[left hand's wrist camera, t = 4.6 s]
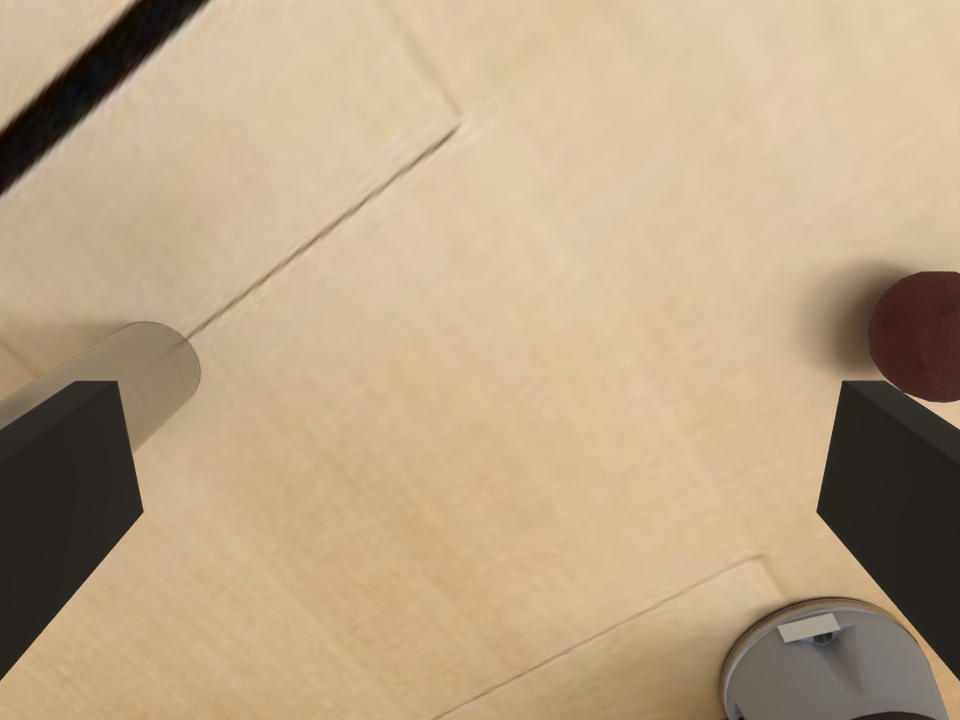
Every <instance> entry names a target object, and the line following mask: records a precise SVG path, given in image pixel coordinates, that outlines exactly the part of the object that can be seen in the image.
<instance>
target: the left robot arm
mask: <svg viewBox="0 0 960 720" xmlns="http://www.w3.org/2000/svg"><path fill="white" fill-rule="evenodd" d="M143 512H144V511H143V506H142V501H141V496H140V491H139V486H138V481H137V476H136V471H135V466H134V461H133V456H132V451H131V446H130V441H129V436H128V431H127V426H126V421H125V416H124V411H123V406H122V401H121V396H120V391H119V386H118V381H74V382H72V383H71V384H69V385H68V386H66V387H65V388H63V389H62V390H60V391H59V392H57V393H56V394H54V395H53V396H51V397H50V398H48V399H46V400H45V401H43V402H42V403H40V404H39V405H37V406H36V407H34V408H33V409H31V410H30V411H28V412H27V413H25V414H24V415H22V416H21V417H19V418H17V419H16V420H14V421H13V422H11V423H10V424H8V425H7V426H5V427H4V428H2V429H1V430H0V681H1V680H2V678H3V677H4V676H5V675H6V674H7V672H8V671H9V670H10V669H11V668H12V667H13V665H14V664H15V663H16V662H17V661H18V659H19V658H20V657H21V656H22V655H23V654H24V652H25V651H26V650H27V649H28V648H29V647H30V645H31V644H32V643H33V642H34V641H35V639H36V638H37V637H38V636H39V635H40V634H41V632H42V631H43V630H44V629H45V628H46V626H47V625H48V624H49V623H50V622H51V621H52V619H53V618H54V617H55V616H56V615H57V614H58V612H59V611H60V610H61V609H62V608H63V606H64V605H65V604H66V603H67V602H68V601H69V599H70V598H71V597H72V596H73V595H74V593H75V592H76V591H77V590H78V589H79V588H80V586H81V585H82V584H83V583H84V582H85V580H86V579H87V578H88V577H89V576H90V575H91V573H92V572H93V571H94V570H95V569H96V568H97V566H98V565H99V564H100V563H101V562H102V560H103V559H104V558H105V557H106V556H107V555H108V553H109V552H110V551H111V550H112V549H113V547H114V546H115V545H116V544H117V543H118V542H119V540H120V539H121V538H122V537H123V536H124V535H125V533H126V532H127V531H128V530H129V529H130V527H131V526H132V525H133V524H134V523H135V522H136V520H137V519H138V518H139V517H140V516H141V514H142V513H143ZM816 512H817V513H818V514H819V516H820V517H821V518H822V519H823V520H824V522H825V523H826V524H827V525H828V526H829V527H830V529H831V530H832V531H833V532H834V533H835V535H836V536H837V537H838V538H839V539H840V540H841V542H842V543H843V544H844V545H845V546H846V547H847V549H848V550H849V551H850V552H851V553H852V555H853V556H854V557H855V558H856V559H857V560H858V562H859V563H860V564H861V565H862V566H863V568H864V569H865V570H866V571H867V572H868V573H869V575H870V576H871V577H872V578H873V579H874V580H875V582H876V583H877V584H878V585H879V586H880V588H881V589H882V590H883V591H884V592H885V593H886V595H887V596H888V597H889V598H890V599H891V601H892V602H893V603H894V604H895V605H896V606H897V608H898V609H899V610H900V611H901V612H902V614H903V615H904V616H905V617H906V618H907V619H908V621H909V622H910V623H911V624H912V625H913V626H914V628H915V629H916V630H917V631H918V632H919V634H920V635H921V636H922V637H923V638H924V639H925V641H926V642H927V643H928V644H929V645H930V647H931V648H932V649H933V650H934V651H935V652H936V654H937V655H938V656H939V657H940V658H941V659H942V661H943V662H944V663H945V664H946V665H947V667H948V668H949V669H950V670H951V671H952V672H953V674H954V675H955V676H956V677H957V678H958V680H959V681H960V430H959V429H958V428H956V427H955V426H953V425H952V424H950V423H949V422H947V421H946V420H944V419H943V418H941V417H939V416H938V415H936V414H935V413H933V412H932V411H930V410H929V409H927V408H926V407H924V406H923V405H921V404H920V403H918V402H917V401H915V400H914V399H912V398H910V397H909V396H907V395H906V394H904V393H903V392H901V391H900V390H898V389H897V388H895V387H894V386H892V385H891V384H889V383H888V382H886V381H842V386H841V391H840V396H839V401H838V406H837V411H836V416H835V421H834V426H833V431H832V436H831V441H830V446H829V451H828V456H827V461H826V466H825V471H824V476H823V481H822V486H821V491H820V496H819V501H818V506H817V511H816Z"/></svg>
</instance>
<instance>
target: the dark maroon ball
mask: <svg viewBox="0 0 960 720" xmlns="http://www.w3.org/2000/svg"><path fill="white" fill-rule="evenodd" d="M869 342H870V353H871V356H872V358H873V360H874V362H875V364H876V365H877V367H878V368H879V370H880V371H881V373H882V374H883V376H884V377H886V378H887V379H888V380H889V381H890V382H891V383H892V384H894V385H895V386H896V387H897V388H898V389H900V390H901V391H902V392H904V393H907V394H909V395H912V396H915V397H917V398H920V399H923V400H926V401H929V402H942V403H946V402H953V401H958V400H960V273H957V272H919V273H916V274H914V275H911V276H908V277H905V278H902V279H901V280H899V281H898V282H897V283H895V284H894V285H893V286H892V287H891V288H889V289H888V290H887V291H886V292H885V293H884V294H883V296H882V298H881V299H880V301H879V302H878V304H877V305H876V308H875V311H874V315H873V319H872V323H871V326H870V330H869Z"/></svg>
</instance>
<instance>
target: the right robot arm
mask: <svg viewBox="0 0 960 720" xmlns="http://www.w3.org/2000/svg"><path fill="white" fill-rule="evenodd" d="M720 695H721V700H722V703H723V706H724V709H725V711H726V714H727V716H728V719H729V720H949V717H948V714H947V712H946V709H945V706H944V703H943V701H942V698H941V695H940V692H939V689H938V687H937V684H936V681H935V679H934V676H933V674H932V670H931V667H930V664H929V662H928V659H927V658H926V656H925V654H924V652H923V651H922V649H921V647H920V646H919V644H918V642H917V641H916V640H915V638H914V637H913V636H912V635H911V634H910V632H909V631H908V630H907V629H906V628H905V626H904V625H903V624H902V623H901V622H900V621H899V620H898V619H897V618H896V617H894V616H893V615H892V614H890V613H889V612H887V611H885V610H883V609H882V608H879V607H877V606H875V605H872V604H869V603H866V602H862V601H858V600H852V599H840V598H830V599H818V600H812V601H807V602H803V603H799V604H795V605H793V606H790V607H787V608H784V609H782V610H780V611H778V612H776V613H774V614H772V615H770V616H768V617H766V618H765V619H763V620H762V621H760V622H759V623H757V624H756V625H755V626H753V627H752V628H751V629H750V630H749V631H748V632H746V633H745V634H744V635H743V636H742V638H741V639H740V640H739V641H738V642H737V643H736V645H735V646H734V647H733V649H732V650H731V652H730V654H729V655H728V657H727V659H726V661H725V664H724V667H723V669H722V673H721V679H720Z"/></svg>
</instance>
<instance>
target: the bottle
mask: <svg viewBox="0 0 960 720" xmlns="http://www.w3.org/2000/svg"><path fill="white" fill-rule="evenodd" d="M199 380H200V365H199V361H198V358H197V355H196V353H195V351H194V350H193V348H192V347H191V345H190V344H189V343H188V341H187V340H186V339H185V338H184V337H182V336H181V335H180V334H179V333H177V332H176V331H174V330H173V329H171V328H169V327H166V326H164V325H161V324H157V323H152V322H138V323H133V324H130V325H127V326H126V327H124V328H122V329H120V330H118V331H117V332H115V333H113V334H112V335H110V336H108V337H107V338H105V339H103V340H102V341H100V342H98V343H97V344H95V345H93V346H91V347H90V348H88V349H86V350H85V351H83V352H81V353H80V354H78V355H76V356H75V357H73V358H71V359H70V360H68V361H66V362H65V363H63V364H61V365H60V366H58V367H56V368H55V369H53V370H51V371H49V372H48V373H46V374H44V375H43V376H41V377H39V378H38V379H36V380H34V381H33V382H31V383H29V384H28V385H26V386H24V387H23V388H21V389H19V390H18V391H16V392H14V393H13V394H11V395H9V396H7V397H6V398H4V399H2V400H1V401H0V430H1V429H2V428H4V427H5V426H7V425H8V424H10V423H11V422H13V421H14V420H16V419H17V418H19V417H21V416H22V415H24V414H25V413H27V412H28V411H30V410H31V409H33V408H34V407H36V406H37V405H39V404H40V403H42V402H43V401H45V400H46V399H48V398H50V397H51V396H53V395H54V394H56V393H57V392H59V391H60V390H62V389H63V388H65V387H66V386H68V385H69V384H71V383H72V382H74V381H118V386H119V391H120V396H121V401H122V406H123V411H124V416H125V421H126V426H127V431H128V436H129V441H130V446H131V451H132V454H133V453H134V452H135V451H136V450H137V449H138V448H140V447H141V446H142V445H143V444H144V443H145V442H146V441H147V440H148V439H149V438H150V437H151V436H152V435H153V434H154V433H155V432H156V431H157V430H158V429H159V428H160V427H161V426H162V425H163V424H164V423H165V422H166V421H167V420H168V419H169V418H170V417H171V416H172V415H173V414H174V413H175V412H176V411H177V410H178V409H179V408H181V407H182V406H183V405H184V404H185V403H186V402H187V401H188V400H189V399H190V398H191V397H192V395H193V394H194V393H195V391H196V389H197V387H198V384H199Z"/></svg>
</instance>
